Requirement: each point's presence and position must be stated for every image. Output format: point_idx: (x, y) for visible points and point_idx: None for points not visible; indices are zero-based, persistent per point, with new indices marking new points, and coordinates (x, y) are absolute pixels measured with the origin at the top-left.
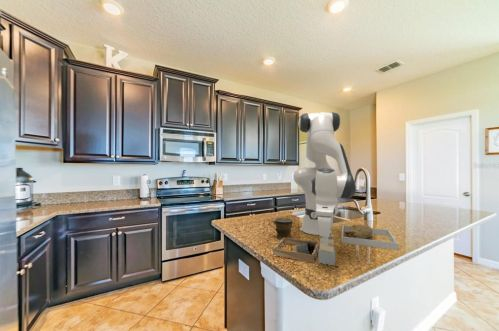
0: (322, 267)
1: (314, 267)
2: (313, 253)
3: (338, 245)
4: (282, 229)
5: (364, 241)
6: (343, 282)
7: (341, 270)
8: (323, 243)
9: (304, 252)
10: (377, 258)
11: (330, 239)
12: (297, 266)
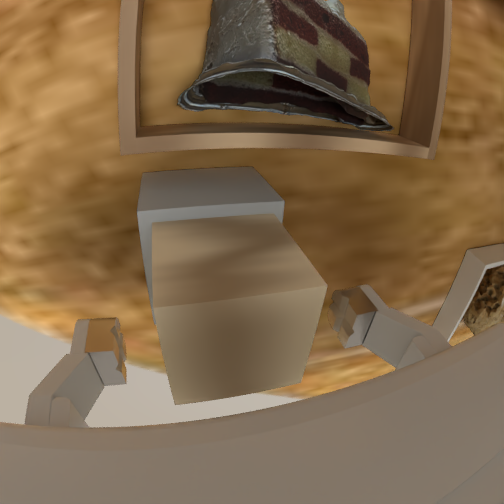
0: (92, 209)
1: (64, 163)
2: (173, 142)
3: (443, 241)
4: None
5: (442, 333)
6: (13, 318)
7: (117, 302)
8: (75, 333)
9: (215, 50)
10: (322, 376)
11: (172, 391)
12: (27, 58)
